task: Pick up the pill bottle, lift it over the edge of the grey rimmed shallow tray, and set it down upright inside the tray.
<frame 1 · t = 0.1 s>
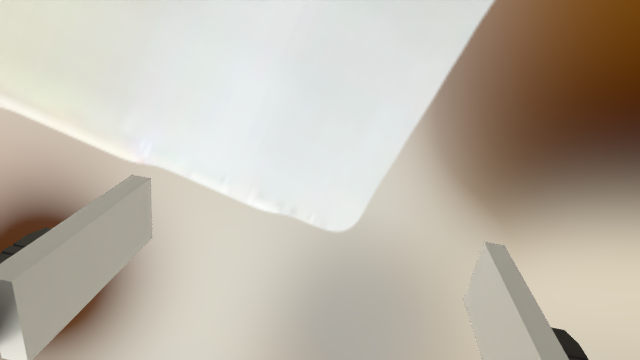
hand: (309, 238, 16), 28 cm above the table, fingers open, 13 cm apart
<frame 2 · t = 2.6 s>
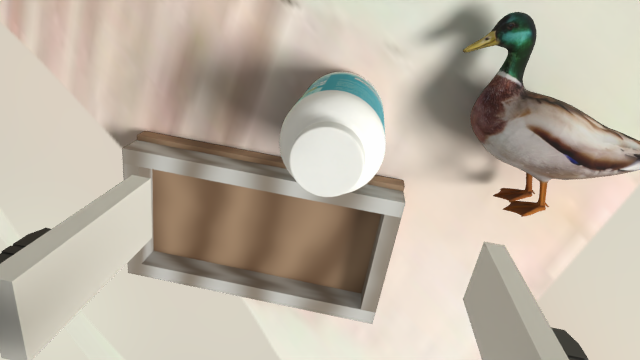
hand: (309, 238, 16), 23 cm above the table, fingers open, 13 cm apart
grey rimmed shallow tray: (264, 221, 42), on the table
pill bottle: (342, 111, 37), on the table
decorative duck model: (542, 103, 35), on the table
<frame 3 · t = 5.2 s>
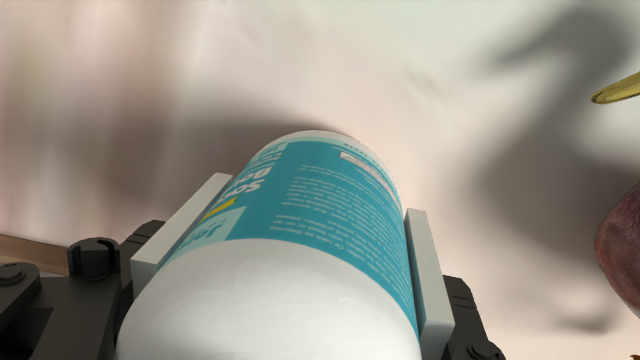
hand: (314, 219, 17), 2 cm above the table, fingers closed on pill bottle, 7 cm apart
pill bottle: (319, 201, 19), on the table, touching gripper
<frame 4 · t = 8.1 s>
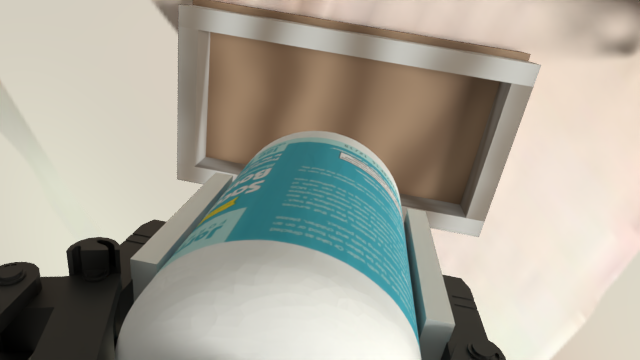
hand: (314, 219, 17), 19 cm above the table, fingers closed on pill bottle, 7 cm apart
grey rimmed shallow tray: (342, 116, 35), on the table
pill bottle: (319, 201, 19), point 17 cm above the table, touching gripper
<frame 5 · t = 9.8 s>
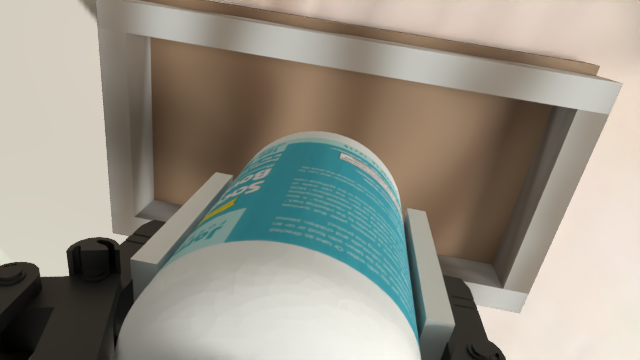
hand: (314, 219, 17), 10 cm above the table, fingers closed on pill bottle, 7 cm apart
grey rimmed shallow tray: (334, 147, 26), on the table
pill bottle: (319, 202, 19), point 8 cm above the table, touching gripper
when the fingers open (5 cm above the table, at t = 11.1 s): pill bottle drops 2 cm, resting on grey rimmed shallow tray.
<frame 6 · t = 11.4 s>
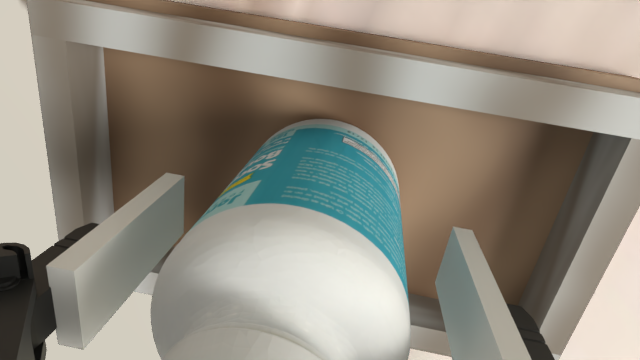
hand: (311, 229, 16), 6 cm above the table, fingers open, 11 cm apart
grey rimmed shallow tray: (326, 175, 22), on the table
pill bottle: (324, 184, 21), point 1 cm above the table, touching grey rimmed shallow tray
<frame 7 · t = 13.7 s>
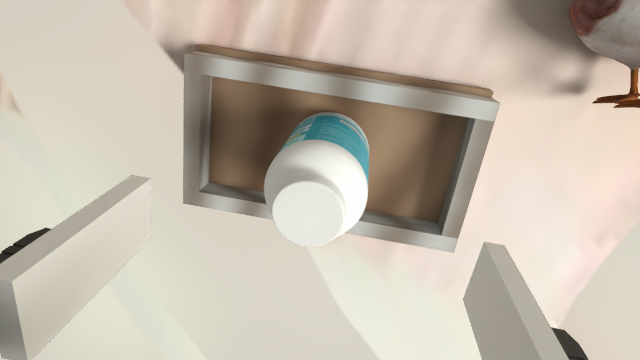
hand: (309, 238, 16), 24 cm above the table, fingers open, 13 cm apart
grey rimmed shallow tray: (330, 145, 39), on the table
pill bottle: (329, 148, 38), point 1 cm above the table, touching grey rimmed shallow tray
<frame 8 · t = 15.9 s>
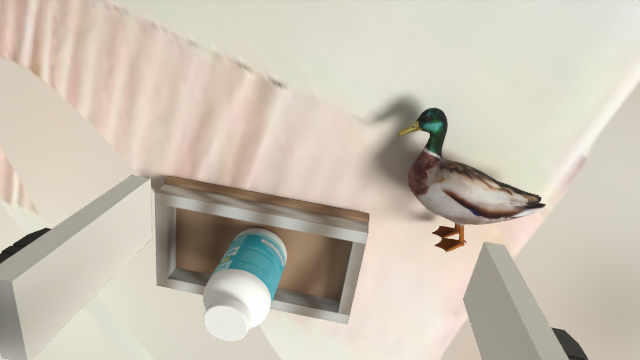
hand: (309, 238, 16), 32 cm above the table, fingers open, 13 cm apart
grey rimmed shallow tray: (263, 244, 54), on the table
pill bottle: (260, 249, 53), point 1 cm above the table, touching grey rimmed shallow tray
decorative duck model: (464, 163, 47), on the table
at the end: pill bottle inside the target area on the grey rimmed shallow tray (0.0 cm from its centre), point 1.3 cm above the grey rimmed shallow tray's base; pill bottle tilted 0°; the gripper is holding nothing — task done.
